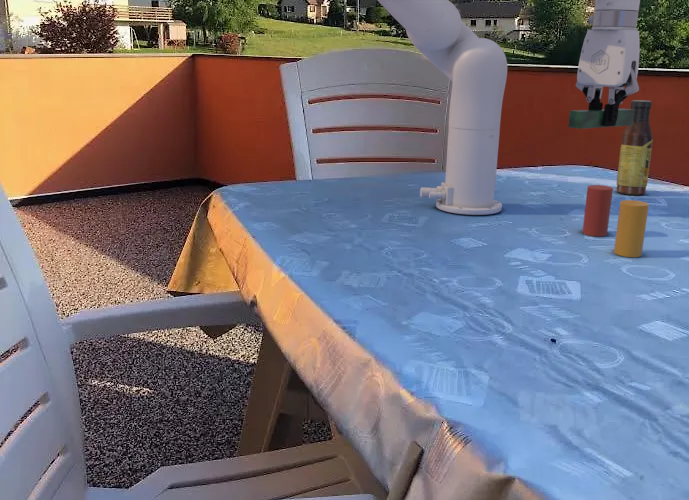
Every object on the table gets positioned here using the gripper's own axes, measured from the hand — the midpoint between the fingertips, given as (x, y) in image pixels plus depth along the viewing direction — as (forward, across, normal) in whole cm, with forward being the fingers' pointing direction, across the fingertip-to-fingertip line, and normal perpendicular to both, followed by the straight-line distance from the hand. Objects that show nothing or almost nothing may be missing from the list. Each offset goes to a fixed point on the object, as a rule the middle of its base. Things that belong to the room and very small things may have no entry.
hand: (601, 124), depth 133 cm
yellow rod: (+17, +22, -20) cm, 34 cm away
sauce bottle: (+17, -6, +23) cm, 29 cm away
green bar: (0, 0, 0) cm, 0 cm away
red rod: (+17, +12, -14) cm, 25 cm away
